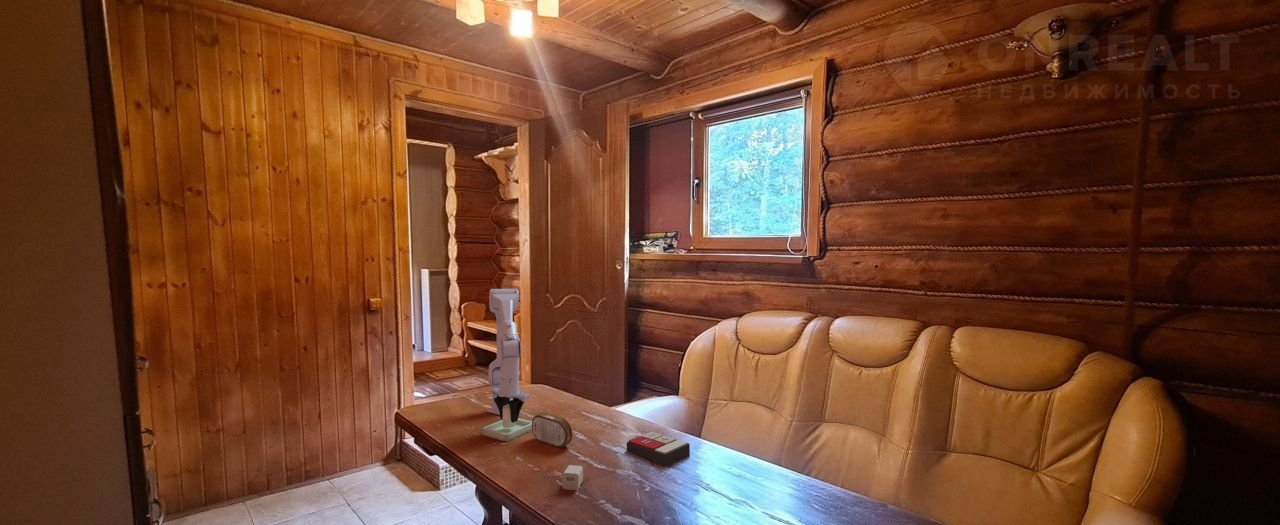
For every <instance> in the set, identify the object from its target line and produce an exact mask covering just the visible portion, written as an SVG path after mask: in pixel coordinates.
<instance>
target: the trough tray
mask: <svg viewBox="0 0 1280 525" xmlns="http://www.w3.org/2000/svg"><path fill="white" fill-rule="evenodd" d="M529 432H533V431H532V420H529V419H528V420H527V419H524V418H523V419H522V418H519V417H518V420H517V421H516V425H515V426H514V427H511V428H505V427H503V420H501V419H500V420H499V421H496V422H493V423H491V424H489V425H486V426H484V427H481V428H480V435H481V436H485V437H488V438H491V439H495V440H497V441H498V440H499V441H502V442H506V443H508V442H510V441H511V440H514V439H516V438H518V437H521V436H523V435H525V434H528V433H529Z"/></svg>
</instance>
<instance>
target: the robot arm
mask: <svg viewBox="0 0 1280 525" xmlns="http://www.w3.org/2000/svg"><path fill="white" fill-rule="evenodd" d="M519 292H520V291H519V289H517V287H516V288H490V290H489V294H488V295H489V296H488V297H489V298H488V299H489V300H488V301H489V304H488V305H489V306H488V307H489V310H490V312H491V313H494V315H495V318H496V358H495V359H494V360H493V361H492V362H490V364H489V365H488V372H487V375H488V376H487V378H488V379H487V380H488V386H490V387H492V388H490V395H491V408H490V409H487V410H486V412H487V413H490V414H494V415H498V416H499V417H500V421H501V420H503V406H505V405H507V404H509V407H510V412H511V422H512V423H514V422H516V421H517V420H518V418H519V416H520V412H521V410H522V407H523V405H524V404H525V403H526V402H528V401H529V398H530V394H528V393H526V392H524V391H521V390H520V358H521V354H522V344H521V342H522V341H521V339H520V337H519V336H518V326H517V324H516V322H514V320H513V315H514V314H513V313H514V312H515V311H516V310H517V308H518V305H519V302H520V301H519V300H520V297H519V296H520V293H519Z"/></svg>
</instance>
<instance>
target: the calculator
mask: <svg viewBox="0 0 1280 525" xmlns="http://www.w3.org/2000/svg"><path fill="white" fill-rule="evenodd" d="M690 446H691V445H690V443H688V442H687V441H683V440H680V439H676V438H675V437H672V436H668V435H663V434H661V433H657V432H654V431H650V432H646V433H644V434H642V435H641V436H637V437H634V438H632V439H629V440H628V441H627V442H626V453H630V454H632V455H634V456H637V457H639V458H641V459H645V460H647V461H650V462H653V463H654V464H656V465H659V466H661V467H663V468H667V467H670V466H671V465H673V464H676V463H678V462H680V461H682V460H685V459H686V458H688V457H690V456H691V454H690V452H691V450H690Z"/></svg>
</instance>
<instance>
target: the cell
mask: <svg viewBox="0 0 1280 525" xmlns="http://www.w3.org/2000/svg"><path fill="white" fill-rule="evenodd" d="M515 425H516V422H514V423H512V422H511V412H510V407H509V404H507V405H505V406H503V427H505V428H511V427H514V426H515Z"/></svg>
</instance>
